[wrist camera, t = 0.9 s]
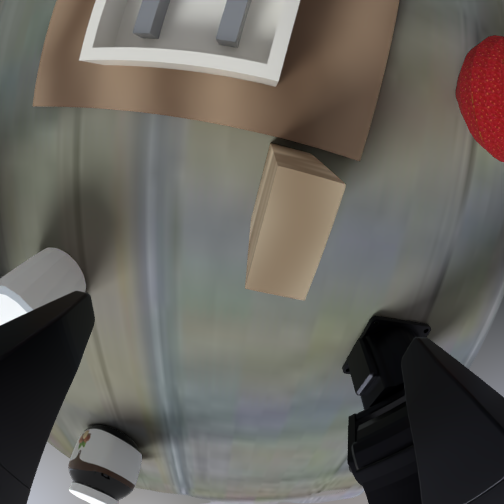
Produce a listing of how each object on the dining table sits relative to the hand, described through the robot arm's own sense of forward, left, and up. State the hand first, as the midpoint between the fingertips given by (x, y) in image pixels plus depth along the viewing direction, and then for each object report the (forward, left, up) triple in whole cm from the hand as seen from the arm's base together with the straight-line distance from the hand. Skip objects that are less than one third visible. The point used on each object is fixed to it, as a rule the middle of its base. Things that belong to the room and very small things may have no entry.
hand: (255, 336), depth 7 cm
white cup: (+15, +10, -13) cm, 22 cm away
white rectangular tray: (+6, -12, -11) cm, 18 cm away
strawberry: (-11, -11, -13) cm, 20 cm away
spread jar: (+12, +40, -13) cm, 44 cm away
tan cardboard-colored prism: (-1, -1, -13) cm, 13 cm away
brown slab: (+6, -12, -12) cm, 18 cm away
